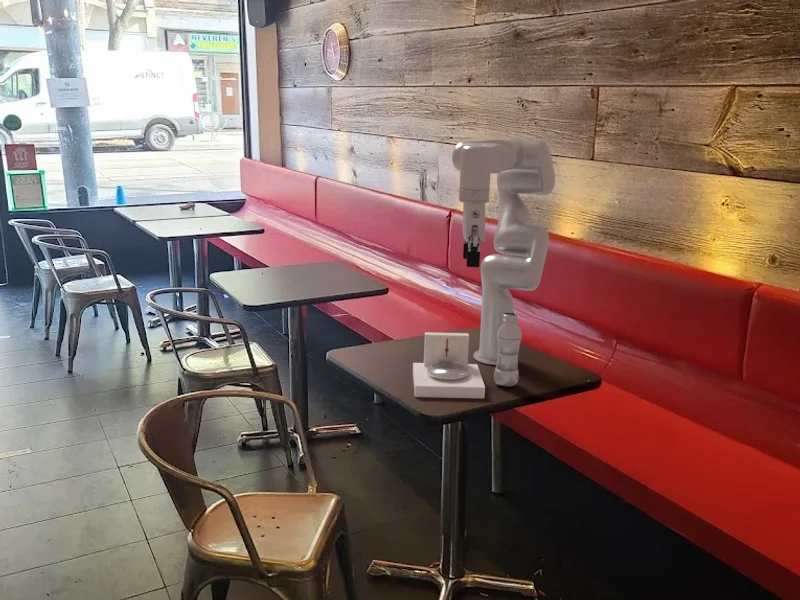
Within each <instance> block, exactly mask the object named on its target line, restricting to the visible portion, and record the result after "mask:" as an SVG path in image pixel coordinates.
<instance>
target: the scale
mask: <svg viewBox="0 0 800 600" xmlns="http://www.w3.org/2000/svg"><path fill="white" fill-rule="evenodd" d="M469 342H470V335H469V333H468V332H466V333H465V332H429V331H426V332H424V345H423V346H424V349H423V362H413V363H412V378H413V379H412V381H413V390H414V398H440V399H441V398H448V399H450V398H451V399H452V398H454V399H485V397H486V395H485V394H486V386H485V383H484V380H483V377H482V375H481V371H480V369H479V366H478V364H477V363H476V364H475V363H474V364H473V363H469V348H470V345H469V344H470V343H469ZM436 363H455V364H459V365H463V366H465V367H466V368H467V369H468V376H467V377H465V378H463V379H459V380H441V379H437V378H433V377H431V376H430V375H428V373H427V368H428V366H430V365H432V364H436Z"/></svg>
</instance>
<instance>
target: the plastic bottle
mask: <svg viewBox="0 0 800 600" xmlns="http://www.w3.org/2000/svg"><path fill="white" fill-rule="evenodd" d="M503 321H504V323H503V324H502V325H501V326H500V328H499V329H498V332H497V339H498V358H497V364H496V365H495V369H494V372H493V380H494V382H495V384H496V385H498V386H502V387H509V388H510V387H514V386H516V385H517V383H518V381H519V375H520V374H519V369H518V367H519V364H518V363H519V361H518V360H519V359H518V358H519V350H520V346H521V345H520V344H521V341H522V336H523V333H522V330H521V328H520V326H519V325H518V324H517V323H518V321H519V320H518V313H515V312H514V313H511V312H506V313H504V316H503Z"/></svg>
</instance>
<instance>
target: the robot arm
mask: <svg viewBox="0 0 800 600" xmlns="http://www.w3.org/2000/svg"><path fill="white" fill-rule="evenodd" d="M451 155H452V156H451V160H452V161H451V162H452V165H453V167H454V168H455V170H457V171H458V172H459V193H458V202H459V203H463V204H462V237H463V239H464V240H463V241H464V243H463V248H462V258H463V259H464V260H465V259H466V263H465V265H466V268H479V267H480V278H481V291H482V292H481V293H482V295H481V296H482V297H481V315H480V334H479V348H478V350H476V351H474V352H473V358H474V360H475V361H477V362H479V363H482V364H486V365H492V366H496V364H497V358H498V339H497V332H498V329H499V328H500V326H501V325H502V324H503V323H504V321H503V316H504V313H506V312H511V313H515V300H514V298H513V295H512V293H511V292H510V290H517V291H518V290H519V291H527V292H529V291H535V290H536V289H538V287H539V285H540V283H541V281H542V275H543V271H544V267H545V263H546V257H547V254H548V250H549V243H550V241H549V240H550V239H549V232H548V230H547V229H546V228H545V227H544V226H542V225H537V224H528V223H529V219H530V209H529V208H528V205H527V204H526V202H525V201H524V199H522V197H521V196H520V194H522V195H536V196H547V195H549V194H551V193H552V192H553V191H554V187H555V184H556V174H555V168H554V163H553V158H552V154H551V151H550V148H549V146H548V144H547V143H546V142H545V141H543V140H540V139H526V138H505V139H489V140H488V139H487V140H472V141H470V140H467V141H461V142H459V143H457V144H456V145H455V146H454V148H453V150H452V154H451ZM491 174H497V176H496V185H497V191H498V197H499V201H500V206H501V207H500V209H501V210H500V214H499V219H498V222H497V226H496V229H495V233H494V236H493V237H494V238H493V247H494V250H495V251H496V252H498V253H493V254H488V255H487V256H485V257H484V258H483V259H482V260H481V263H480V259H481V250H480V249H481V248H480V247H481V246H480V245H481V244H480V243H482V244H483V243H485V241H486V204H487V203H489V202H490V192H491V191H490V187H491V186H490V185H491Z"/></svg>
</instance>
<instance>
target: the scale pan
mask: <svg viewBox="0 0 800 600" xmlns="http://www.w3.org/2000/svg"><path fill="white" fill-rule="evenodd" d="M427 373H428V375H430V376H431V377H433V378H437V379H441V380H459V379H463V378H465V377H467V376H468V369H467V368H466V367H465V366H463V365H459V364H455V363H436V364H432V365H430V366H428V368H427Z"/></svg>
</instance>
